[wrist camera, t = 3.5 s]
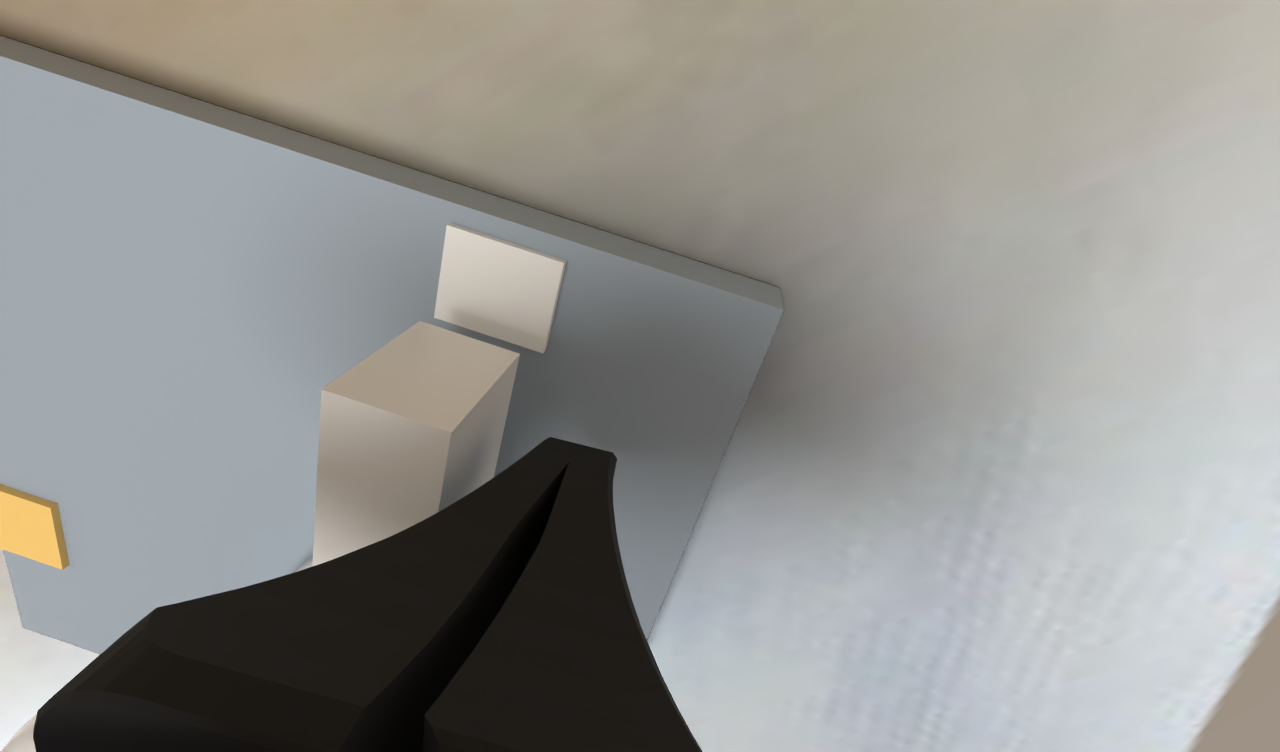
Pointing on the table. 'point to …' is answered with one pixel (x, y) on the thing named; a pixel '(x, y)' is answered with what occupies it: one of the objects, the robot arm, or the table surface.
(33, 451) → the base
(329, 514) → the cap
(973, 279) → the table surface
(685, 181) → the table surface
